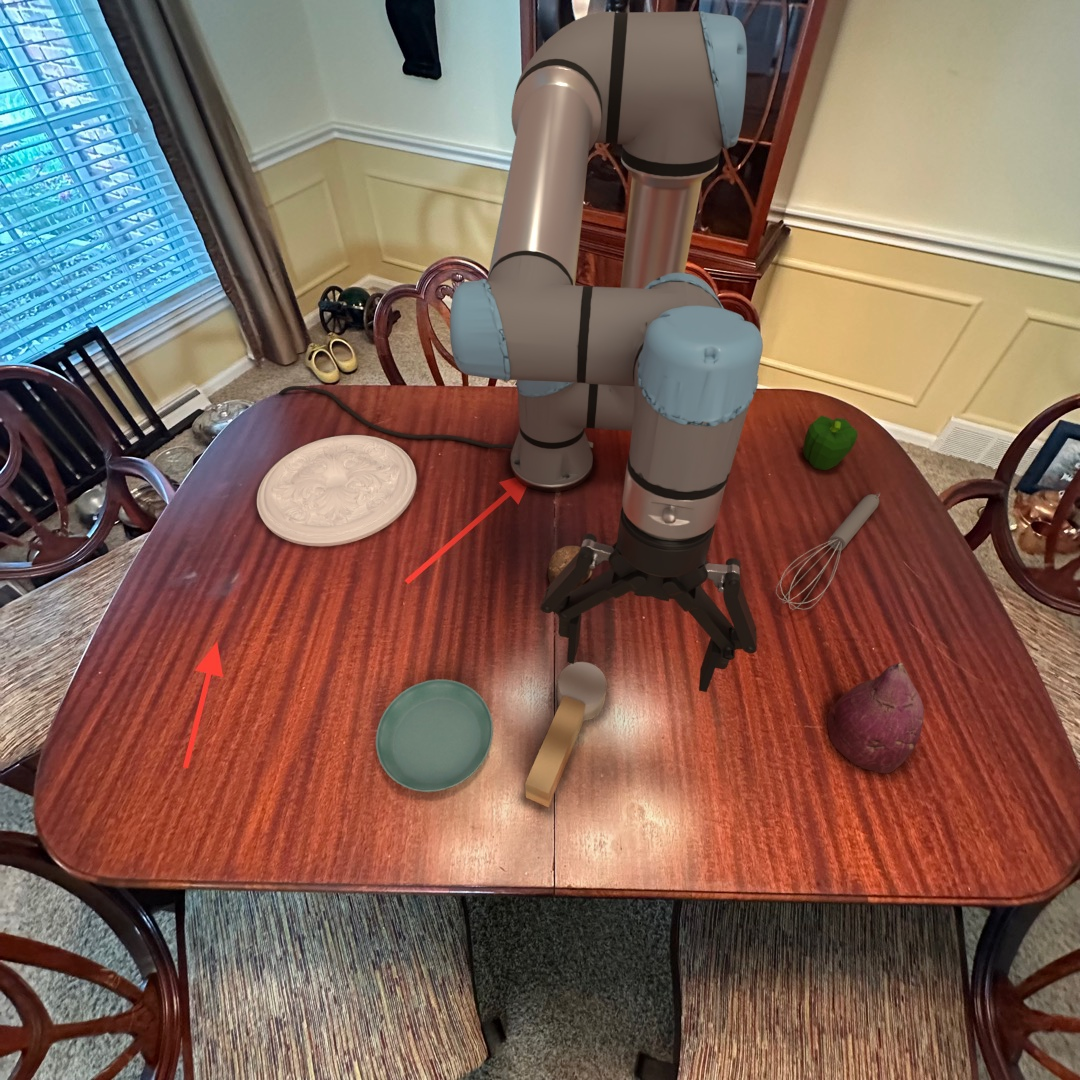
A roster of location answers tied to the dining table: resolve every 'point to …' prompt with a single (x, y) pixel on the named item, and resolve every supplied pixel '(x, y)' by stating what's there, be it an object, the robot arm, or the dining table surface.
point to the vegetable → (878, 721)
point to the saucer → (434, 735)
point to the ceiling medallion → (336, 490)
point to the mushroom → (564, 563)
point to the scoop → (566, 727)
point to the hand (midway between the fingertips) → (636, 666)
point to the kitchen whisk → (838, 541)
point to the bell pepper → (828, 442)
